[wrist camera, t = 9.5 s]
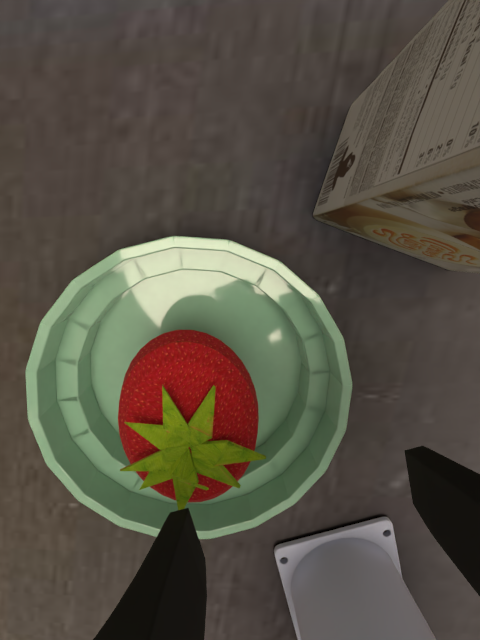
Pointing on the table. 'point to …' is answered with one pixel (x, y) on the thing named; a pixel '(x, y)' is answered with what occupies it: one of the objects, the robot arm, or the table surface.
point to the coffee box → (416, 149)
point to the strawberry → (188, 416)
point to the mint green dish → (205, 316)
